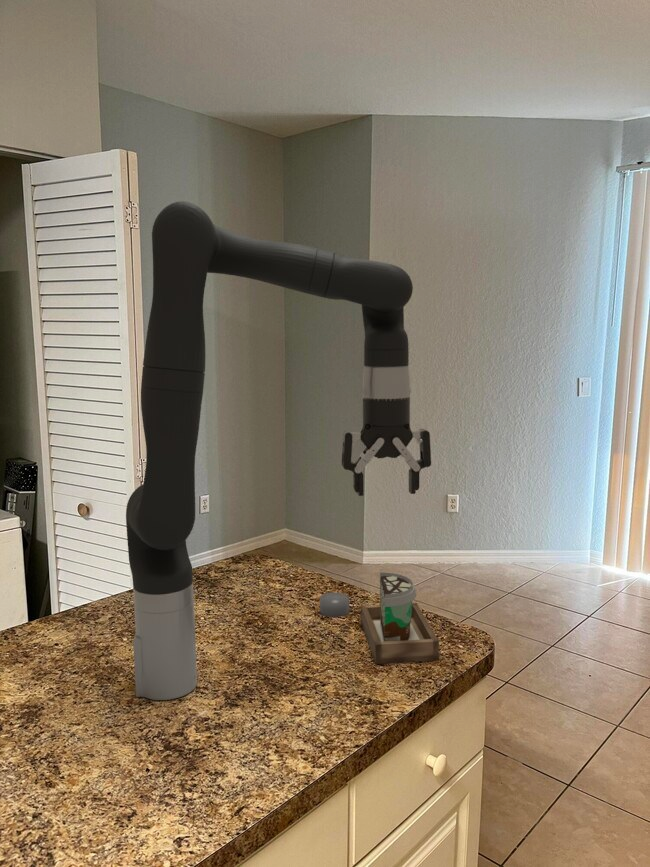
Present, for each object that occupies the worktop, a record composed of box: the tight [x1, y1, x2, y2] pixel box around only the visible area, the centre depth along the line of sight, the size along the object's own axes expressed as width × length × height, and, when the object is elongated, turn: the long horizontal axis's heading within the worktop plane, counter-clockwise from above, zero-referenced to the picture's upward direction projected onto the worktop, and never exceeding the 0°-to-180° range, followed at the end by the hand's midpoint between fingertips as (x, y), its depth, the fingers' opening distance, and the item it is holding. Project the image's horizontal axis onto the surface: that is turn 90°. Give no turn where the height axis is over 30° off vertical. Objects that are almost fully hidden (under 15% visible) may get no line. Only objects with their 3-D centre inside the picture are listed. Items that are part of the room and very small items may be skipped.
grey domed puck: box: [319, 591, 350, 618], centre depth 141 cm, size 6×6×3 cm
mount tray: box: [360, 602, 440, 665], centre depth 127 cm, size 11×17×4 cm, turn 5°
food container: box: [379, 571, 417, 642], centre depth 126 cm, size 12×6×10 cm, turn 0°
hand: (386, 493), depth 113 cm, fingers open, 8 cm apart
